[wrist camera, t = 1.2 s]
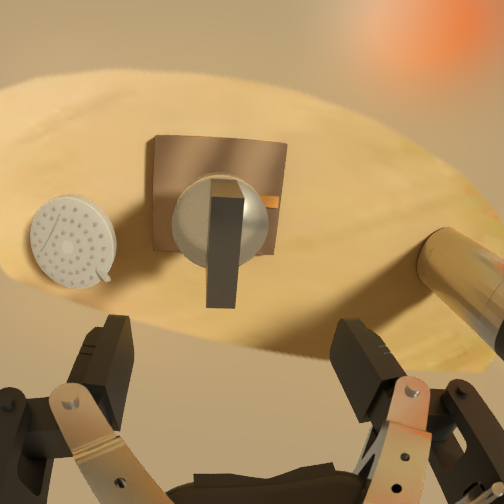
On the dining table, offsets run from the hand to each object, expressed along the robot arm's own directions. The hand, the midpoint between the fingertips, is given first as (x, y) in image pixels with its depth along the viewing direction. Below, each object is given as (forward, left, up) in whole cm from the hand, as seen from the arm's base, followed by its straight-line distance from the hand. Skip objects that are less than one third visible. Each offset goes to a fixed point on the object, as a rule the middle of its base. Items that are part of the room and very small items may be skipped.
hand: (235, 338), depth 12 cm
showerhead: (+14, +4, -24) cm, 28 cm away
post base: (0, 0, -23) cm, 23 cm away
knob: (0, +1, -16) cm, 16 cm away
